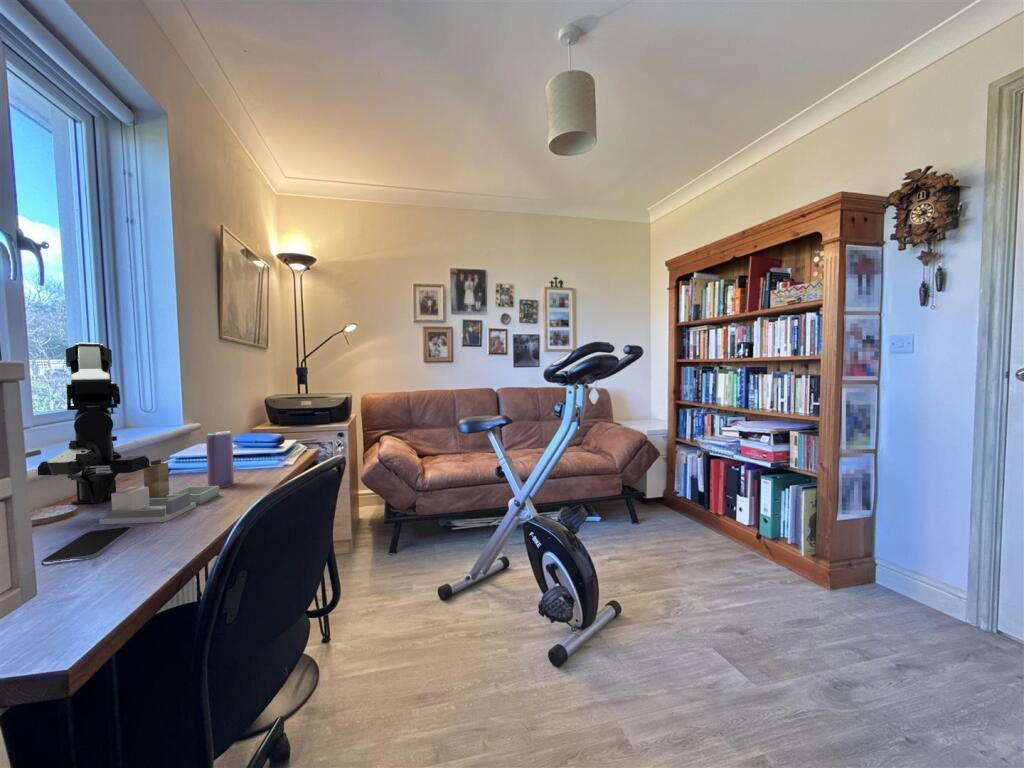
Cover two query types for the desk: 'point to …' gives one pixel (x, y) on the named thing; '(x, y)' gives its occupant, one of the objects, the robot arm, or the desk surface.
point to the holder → (198, 493)
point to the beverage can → (220, 459)
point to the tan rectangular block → (157, 479)
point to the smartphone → (89, 544)
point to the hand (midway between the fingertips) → (97, 503)
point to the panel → (152, 511)
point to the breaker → (130, 498)
